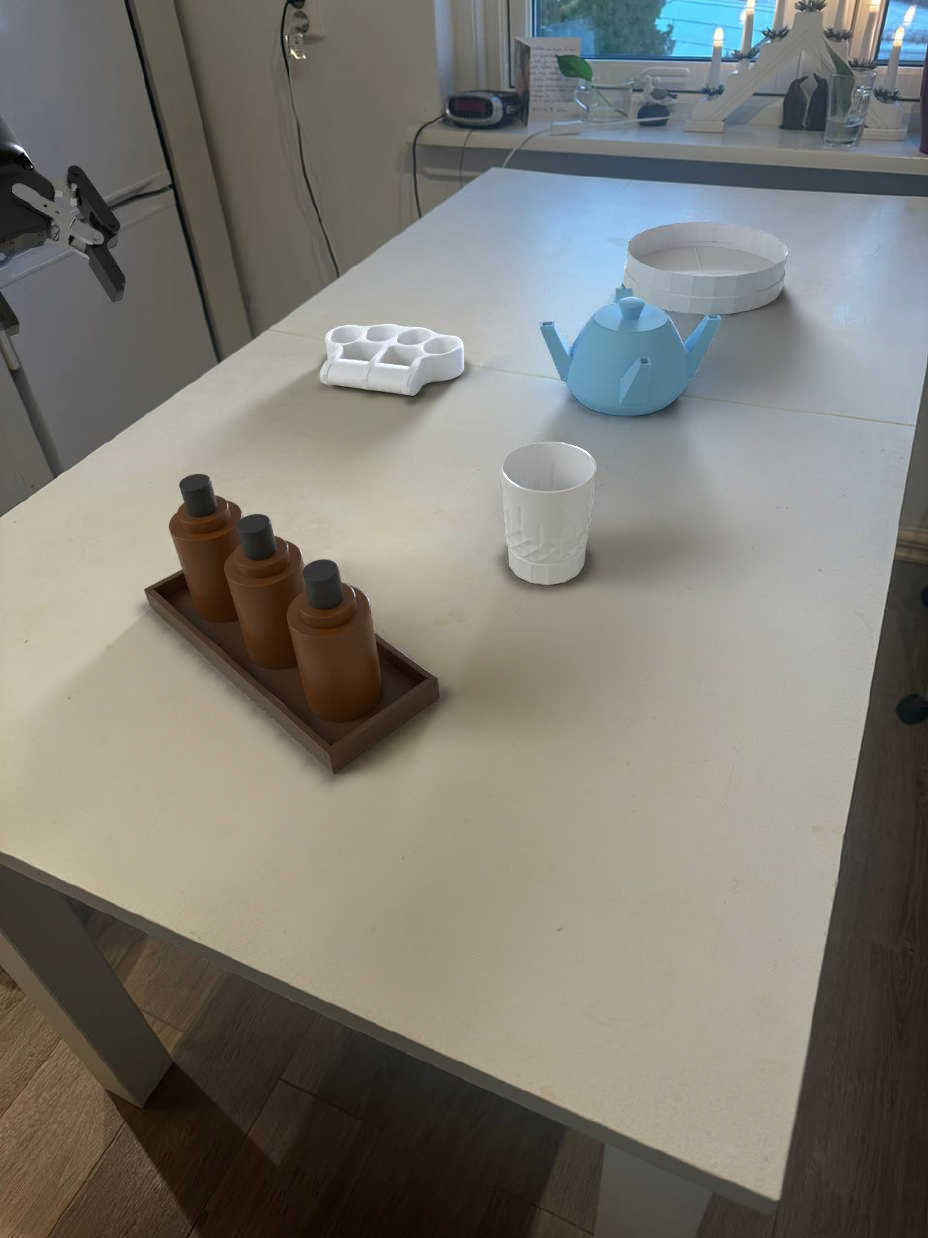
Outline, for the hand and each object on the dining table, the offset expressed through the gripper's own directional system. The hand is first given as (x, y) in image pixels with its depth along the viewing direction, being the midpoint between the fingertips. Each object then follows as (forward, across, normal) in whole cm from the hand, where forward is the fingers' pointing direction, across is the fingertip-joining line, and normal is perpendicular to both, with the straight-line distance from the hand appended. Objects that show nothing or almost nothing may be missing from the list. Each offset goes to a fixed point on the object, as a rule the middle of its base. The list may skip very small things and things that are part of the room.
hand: (69, 312), depth 68 cm
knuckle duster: (+8, +39, +24) cm, 47 cm away
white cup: (+37, +24, -4) cm, 44 cm away
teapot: (+26, +53, +6) cm, 60 cm away
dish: (+17, +87, +15) cm, 90 cm away
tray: (+31, +1, +1) cm, 31 cm away
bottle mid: (+30, +1, +1) cm, 31 cm away
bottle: (+25, +1, +6) cm, 26 cm away
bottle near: (+36, +1, -5) cm, 37 cm away
